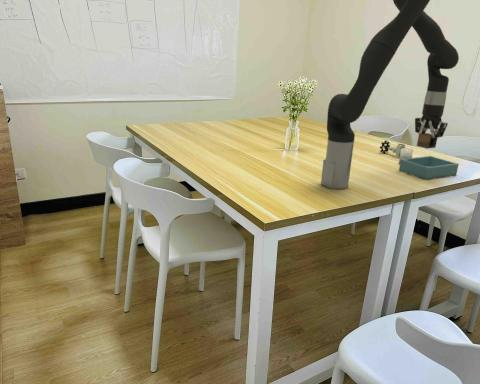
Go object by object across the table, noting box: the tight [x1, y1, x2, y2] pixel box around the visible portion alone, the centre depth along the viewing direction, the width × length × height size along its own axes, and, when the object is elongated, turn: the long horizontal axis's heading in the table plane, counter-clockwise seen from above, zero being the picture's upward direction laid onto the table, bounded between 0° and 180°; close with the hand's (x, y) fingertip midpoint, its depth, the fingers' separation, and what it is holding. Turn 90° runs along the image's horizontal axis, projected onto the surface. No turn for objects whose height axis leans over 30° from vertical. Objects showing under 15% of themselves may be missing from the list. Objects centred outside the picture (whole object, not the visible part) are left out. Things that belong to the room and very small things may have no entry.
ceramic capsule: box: [398, 147, 414, 165], centre depth 176 cm, size 5×5×7 cm
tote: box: [398, 155, 460, 181], centre depth 164 cm, size 18×14×5 cm
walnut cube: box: [416, 132, 437, 150], centre depth 158 cm, size 5×5×5 cm
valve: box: [379, 140, 406, 159], centre depth 190 cm, size 7×7×12 cm
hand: (426, 145), depth 159 cm, fingers closed on walnut cube, 5 cm apart
